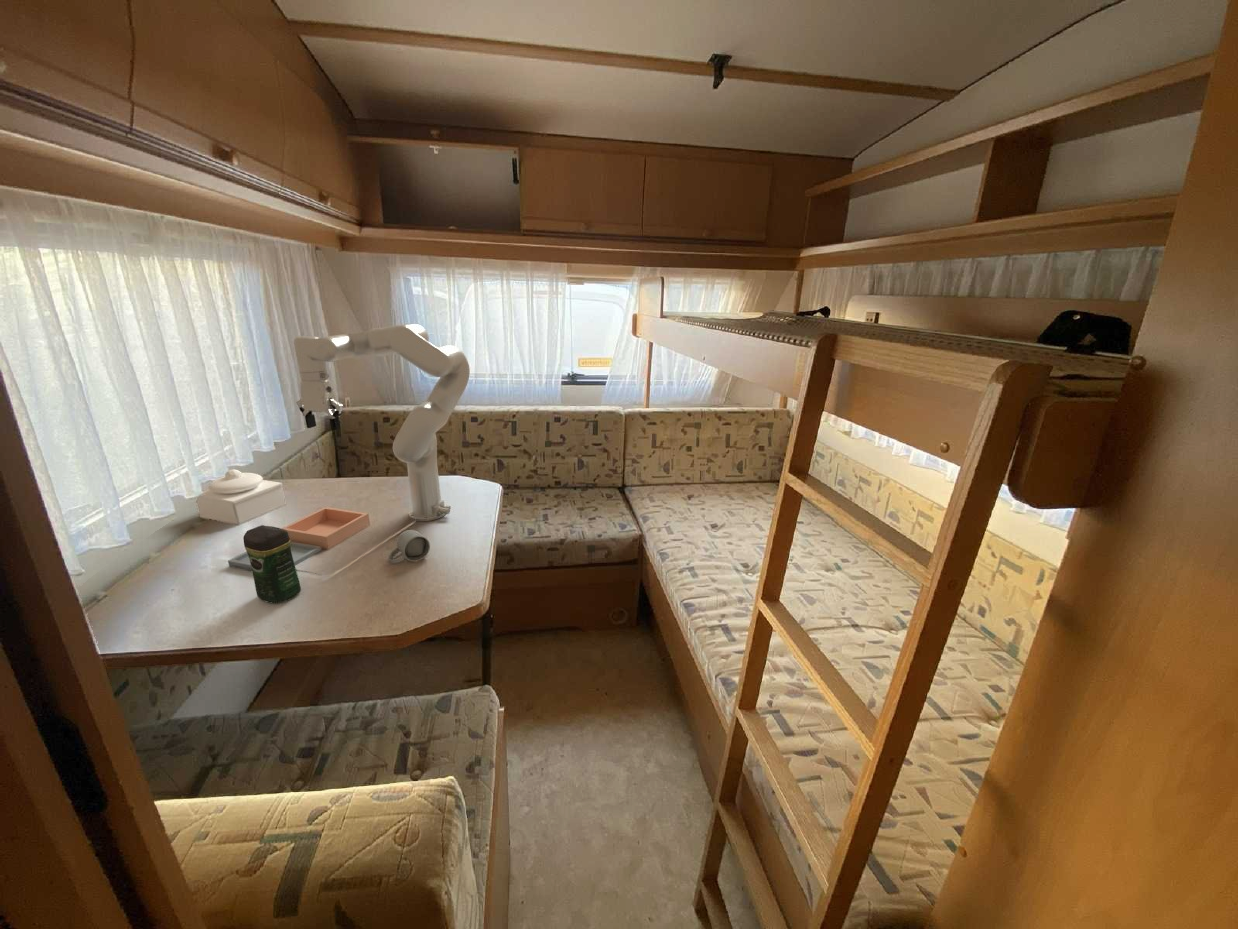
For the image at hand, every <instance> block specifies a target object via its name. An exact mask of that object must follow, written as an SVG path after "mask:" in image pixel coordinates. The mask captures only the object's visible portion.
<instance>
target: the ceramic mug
mask: <svg viewBox="0 0 1238 929" xmlns="http://www.w3.org/2000/svg"><path fill="white" fill-rule="evenodd" d="M430 549H431V544H430V540H429V539H428V538H427V537H426V536H424V535H423V534H421V533H420V532H419V531H417V530H415V529H414V530H413V529H406V530H404V531H402V532H401V533H399V535H398V536H397V539H396V547H395V548H394V549H393V550H392V551H391V552H390V553H389V555H388V560H389V562H390V563H391V564H398V563H400V562H403V561H404V560H407V561H409V562H419V561H421V560H423V559H424V558H426V557H427V556H428V554H429V553H430ZM399 552H400V554H401V555H399V556H398V557H396V558H394V557H395V556H396V555H397V554H398V553H399Z"/></svg>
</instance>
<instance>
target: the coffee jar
mask: <svg viewBox="0 0 1238 929" xmlns="http://www.w3.org/2000/svg"><path fill="white" fill-rule="evenodd" d="M281 528H282V527H281ZM281 528H280V527H276V526H273V525H272V526H271V525H270V526H269V525H265V524H262V525H258V526H256V527H252V528H251V529H248V530H246V531H245V533H244V535H243V546H244V549H245V552H246V551H247V554H248V556H249V559H250V563H251V568H252V571H251V573H252V576H253V582H254V587H255V591H256V592H255V593H256V595H257V598H258V599H260V600H261V601H264V602H266V603H269V604H280V603H282V602H287V601H290V600H291V599H293V598H295V597H296V596H297V595H298V594H300V592H301V590H302V587H301V584H300V579H299V576H298V573H297V569H296V565H294V561H293V557H292V553H291V547H290V543H291V542H290V538H289V535H288V532H287V530H284V529H281Z"/></svg>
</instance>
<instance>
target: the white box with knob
mask: <svg viewBox="0 0 1238 929" xmlns="http://www.w3.org/2000/svg"><path fill="white" fill-rule="evenodd" d="M202 492H203V493H202V495H201V496H199V497H198V498H197V500H196V501H195V504H196V503H197V505H196V507H197V506H198V508H197V510H198V509H199V512H198V515H199V514H200V515H199V517H200V518H201V519H204V520H209V519H212V520H211V521H214V520H217V521H216V522H219V521H220V522H221V523H225V524H230V525H235V526H241V525H243V524H246V523H248V522H250V521H252V520H255V519H257V518H260V517H262V516H265V515H266V514H268V513H271V512H275V511H276V510H279V509H281V508H283V507H285V506H287V501H286V497H285V492H284V488H283V482H278V481H271V480H266V479H264V478H263V476H262V475H260V474H258V473H254V472H242V471H240V470H238V469H236V468H235V469H234V468H231V469H229V470H227V471H226V472H225V474H224V476H221V477H218V478H216V479H214V480H212V481H211V482H210V483H209V485H208V489H206V490H204V491H202Z"/></svg>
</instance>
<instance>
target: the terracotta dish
mask: <svg viewBox="0 0 1238 929" xmlns="http://www.w3.org/2000/svg"><path fill="white" fill-rule="evenodd" d="M370 525H371V523H370V517H369V513H366V512H359V511H354V510H346V509H341V508H333V507H327V506H324V507H323V508H321V509H318V510H317V511H315V512H312V513H310V514H308V515H305V516H304V517H302V518H300V519H298V520H296V521H294V522H292V523H289V524H287V525H285V526H283V527H281V529H284V530H287V532H288V535H289V538H290V541H291V542H297V543H303V544H309V545H314V546H320V547H321V548H322V549H327V550H330V549H331V548H333V547H335V546H337V545H338V544H340V543H342V542H344V541H345V540H346V539H349V538H350V537H352V536H353V535H355V534H357V533H359V532H360V531H362V530H364V529H365V528H368V526H370Z"/></svg>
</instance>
